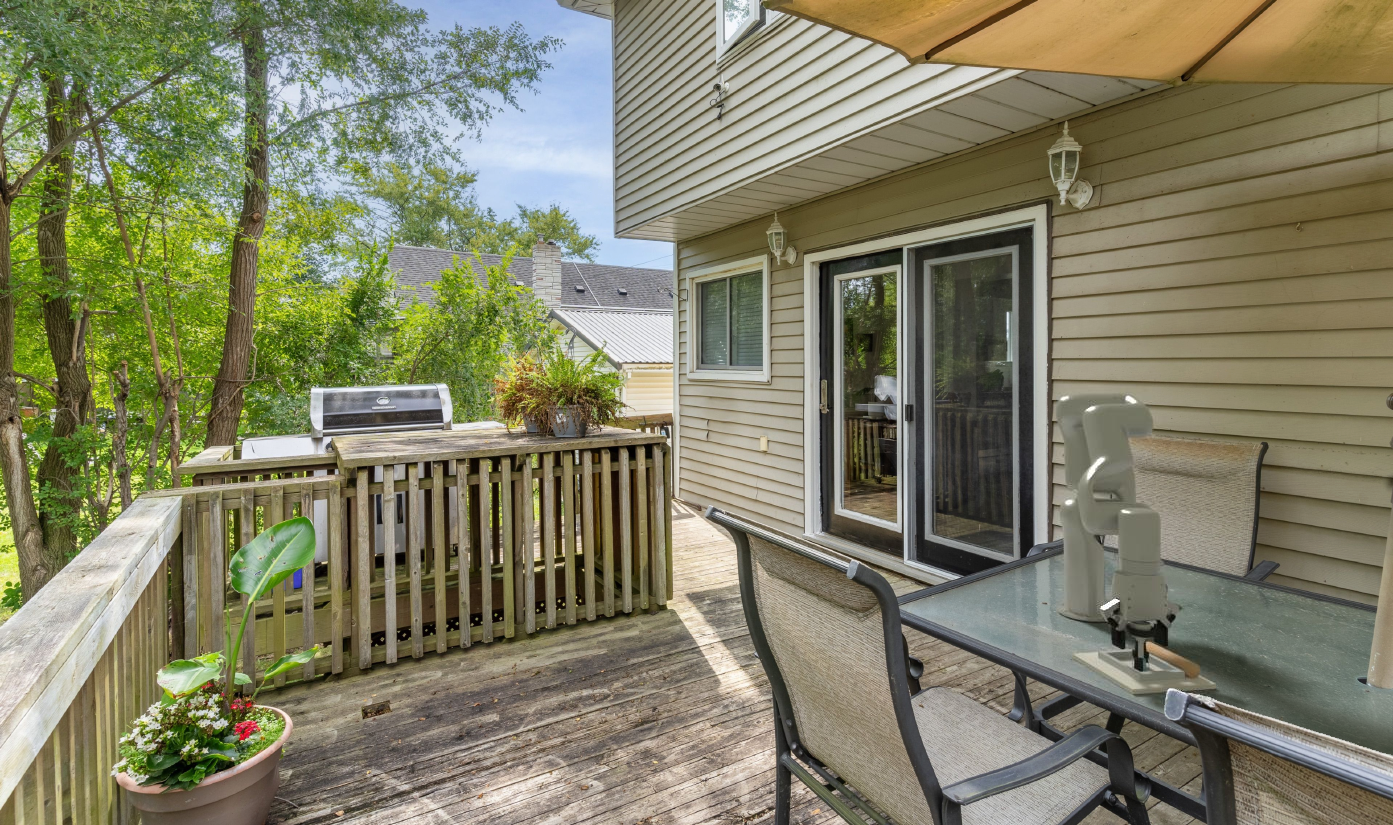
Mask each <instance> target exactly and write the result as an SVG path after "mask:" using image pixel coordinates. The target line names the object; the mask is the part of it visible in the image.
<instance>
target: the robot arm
mask: <svg viewBox="0 0 1393 825" xmlns="http://www.w3.org/2000/svg"><path fill="white" fill-rule="evenodd" d="M1055 417H1056V418H1055V419H1056V422H1057V425H1058V428H1059V430H1060V433H1061V436H1062V439H1063V448H1064V452H1063V453H1064V455H1063V456H1064V479H1065V484H1066V487H1067V489H1069V491H1072V492H1074V493H1076V496H1077V497H1075V498H1074V497H1073V498H1069V499H1066V500H1064V501H1063V502H1062V503H1061V504H1060V506H1059V518H1060V523H1061V529H1062V536H1063V537H1062V539H1063V578H1064V579H1063V588H1064V589H1063V590H1064V592H1063V594H1064V595H1063V596H1064V597H1063V598H1064V599H1063V602H1064V603H1061V604H1058V606H1057V611H1058V614H1061V615H1062V616H1064V617H1067V618H1070V619H1073V620H1077V621H1083V622H1094V623H1098V622H1100V623H1101V622H1102V623H1103V622H1105V623H1107V625H1108V626H1109V627H1110V629H1111V630H1110V632H1111V634H1110V636H1111V644H1112V646H1114V647H1116V648H1118V649H1119V650H1126V630H1123V629H1124V628H1126V627H1125V625H1126V624H1127V623H1130V622H1136V621H1147V622H1150V621H1151V622H1152V621H1154V622H1155V623H1153V627H1154V628H1155V629H1156V632H1155V636H1154V637H1153V643H1156V644H1158V645H1159V646H1161V647H1163V648H1167V647H1168V646H1169V629H1170V628H1172V623H1173V622H1174V621H1175V620H1176V618H1177V615H1178V614H1177V613H1178V612H1179V610H1180V606H1179V605H1178V604H1176V603H1174V602H1171V601H1170V600H1168V591H1167V592H1166V586H1165V584H1166V582H1165V577H1164V574H1163V573H1162V570H1161V569H1162V567H1164V566H1165V562H1164V561H1163V560H1162V559H1161V558H1162V557H1161V555H1162V554H1161V553H1162V552H1161V549H1162V548H1161V547H1162V546H1161V543H1162V542H1161V539H1162V537H1161V535H1162V534H1161V529H1162V528H1161V527H1162V525H1161V524H1162V522H1161V515H1160V514H1159V512H1158V511H1156V510H1153V509H1152V508H1151V507H1150V506H1149V504H1146V503H1143V502H1137V490H1136V486H1137V485H1136V484H1137V482H1136V476H1135V474H1136V473H1135V471H1134V468H1133V466H1132V465H1133V464H1134V456H1133V453H1132V448H1131V445H1130V442H1129V439H1145V438H1147V437H1149V436H1150V435H1151V434H1152V432H1153V430H1154V419H1153V415H1152V413H1151V411H1150V409H1149V407H1148V406H1147V405H1146V404H1145V403H1144V402H1142V401H1141V400H1139V399H1138V398H1136V397H1134V395H1132V394H1129V393H1121V392H1120V393H1113V392H1112V393H1075V394H1074V393H1073V394H1068V395H1065V396H1062V397H1060V398H1059V399H1058V401H1057V402H1056V406H1055ZM1094 494H1111V495H1112V498H1107V497H1106V498H1101V497H1100V498H1099V497H1098V498H1097V497H1094ZM1094 535H1096V536H1117V540H1118V541H1117V553H1118V554H1117V556H1118V559H1117V560H1118V564H1117V570H1115V571H1114V573H1113V577H1112V581H1111V586H1110V595H1109V596H1110V597H1108V598H1106V553H1105V549H1104V547H1103V546H1102V544H1101V543H1100V542H1099V541H1098V540H1097V539H1096V538H1095V537H1094Z"/></svg>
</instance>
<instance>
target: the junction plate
mask: <svg viewBox="0 0 1393 825" xmlns="http://www.w3.org/2000/svg"><path fill="white" fill-rule="evenodd" d="M1132 649H1133V648H1130V649H1118V650H1117V649H1114V650H1100V651H1093V652H1092V651H1091V652H1078V653H1077V652H1076V653H1072V654H1071V658H1072V659H1073V660H1075V661H1076V662H1078V663H1079V664H1081V665H1082V666H1085V667H1086V668H1088V669H1090V670H1092V671H1093V672H1095V673H1096V674H1099V675H1100V676H1101V677H1103V678H1104V679H1106V680H1108V681H1109V682H1111V683H1113V684H1115V685H1117V686H1118V687H1120V688H1121V689H1123V690H1125V691H1127V692H1128V693H1130V694H1131V695H1141V694H1142V695H1144V694H1158V693H1167V692H1166V690H1168V689H1169V688H1175V689H1179V690H1182V691H1181V692H1188V691H1189V692H1190V691H1205V690H1215V689H1217V684H1216V683H1215V682H1213V681H1211V680H1209V679H1207V678H1205V677H1203V676H1202V675H1201V671H1202V670H1201V668H1202V667H1201V666H1200V665H1199V664H1197V663H1195V662H1194V661H1191V660H1189V659H1187V658H1185V657H1183V656H1180V655H1178V654H1177V653H1174V652H1173V651H1170V650H1168V649H1166V648H1165V647H1163V646H1161V645H1159V644H1158V645H1157V643H1156V644H1155V642H1152V641H1146V651H1148V652H1149V659H1148V661H1149V663H1146V672H1140V671H1138V670H1136V669H1134V661H1133V667H1132V659H1133V656H1132ZM1164 691H1165V692H1164Z"/></svg>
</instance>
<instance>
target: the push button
mask: <svg viewBox="0 0 1393 825" xmlns="http://www.w3.org/2000/svg"><path fill="white" fill-rule="evenodd" d="M1151 624H1152V623H1151V622H1150V621H1136V622H1128V623H1127V624H1126V625H1125V627H1124V628H1126V632H1127V634H1129V635H1130V636H1131V637H1134V638H1135V639H1134V648H1131V649H1132V656H1133V659H1132V667H1133V661H1134V669H1136V670H1138V671H1140V672H1146V663H1149V661H1148V659H1149V652H1148V651H1146V642H1147V641H1146V640H1149V639H1151V638H1154V636H1155V632H1156V629H1155V628H1154V626H1153V625H1151Z"/></svg>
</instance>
